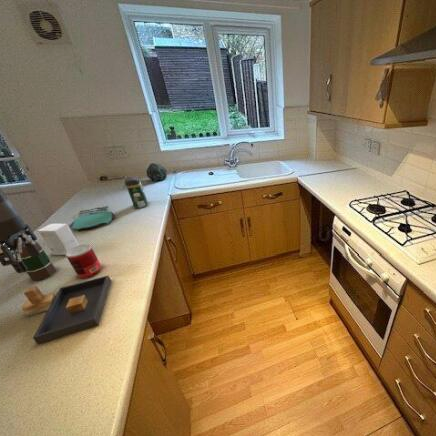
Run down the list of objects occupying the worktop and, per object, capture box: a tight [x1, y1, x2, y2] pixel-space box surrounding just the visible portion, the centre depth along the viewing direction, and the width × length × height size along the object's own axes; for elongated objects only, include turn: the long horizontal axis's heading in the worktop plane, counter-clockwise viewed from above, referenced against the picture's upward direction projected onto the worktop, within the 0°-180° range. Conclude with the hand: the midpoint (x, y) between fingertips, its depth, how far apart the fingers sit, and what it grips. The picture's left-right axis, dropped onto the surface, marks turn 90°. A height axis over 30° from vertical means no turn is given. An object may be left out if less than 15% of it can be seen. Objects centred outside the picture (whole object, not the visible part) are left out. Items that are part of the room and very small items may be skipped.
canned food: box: [65, 243, 102, 279], centre depth 94 cm, size 8×8×11 cm
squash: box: [146, 162, 168, 182], centre depth 194 cm, size 14×15×15 cm
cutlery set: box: [70, 205, 115, 231], centre depth 138 cm, size 20×30×2 cm, turn 33°
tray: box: [32, 275, 112, 345], centre depth 80 cm, size 15×22×3 cm
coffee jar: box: [124, 175, 149, 209], centre depth 148 cm, size 10×8×19 cm
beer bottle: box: [12, 240, 57, 281], centre depth 90 cm, size 8×8×24 cm
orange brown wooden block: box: [66, 295, 88, 314], centre depth 79 cm, size 4×4×3 cm
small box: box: [37, 223, 80, 256], centre depth 107 cm, size 8×6×13 cm
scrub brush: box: [21, 285, 57, 317], centre depth 79 cm, size 7×4×9 cm, turn 115°
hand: (30, 263), depth 74 cm, fingers open, 8 cm apart
